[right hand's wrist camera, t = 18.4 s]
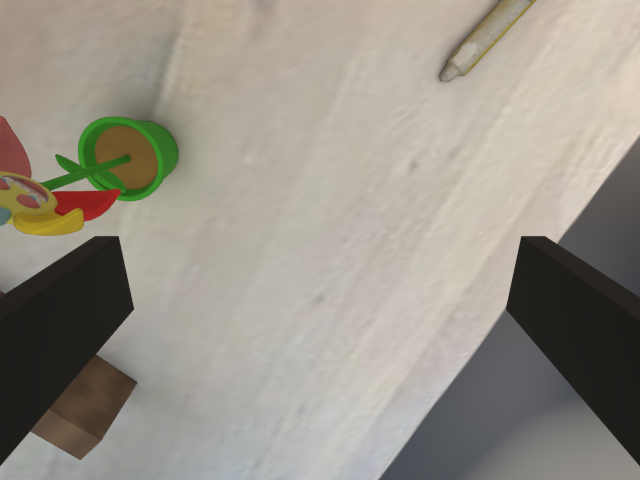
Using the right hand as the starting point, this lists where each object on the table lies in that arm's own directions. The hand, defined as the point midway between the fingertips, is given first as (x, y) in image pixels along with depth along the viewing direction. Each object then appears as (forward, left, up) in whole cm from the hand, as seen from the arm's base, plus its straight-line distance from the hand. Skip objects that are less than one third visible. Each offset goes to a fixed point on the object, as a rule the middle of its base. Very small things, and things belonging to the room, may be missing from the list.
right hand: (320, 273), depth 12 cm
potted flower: (0, -19, -31) cm, 36 cm away
